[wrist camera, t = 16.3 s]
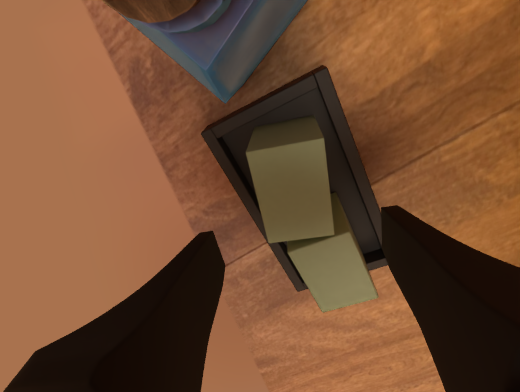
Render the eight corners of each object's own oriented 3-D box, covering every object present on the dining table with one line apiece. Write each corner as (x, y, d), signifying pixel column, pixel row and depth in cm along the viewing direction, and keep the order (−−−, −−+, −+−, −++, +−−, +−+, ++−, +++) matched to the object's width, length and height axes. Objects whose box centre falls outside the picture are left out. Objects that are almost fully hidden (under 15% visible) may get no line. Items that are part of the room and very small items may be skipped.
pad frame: (296, 277, 26) (297, 292, 24) (206, 126, 19) (200, 133, 18) (391, 247, 23) (398, 262, 22) (323, 64, 17) (326, 66, 15)
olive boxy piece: (271, 202, 21) (268, 243, 17) (254, 126, 19) (245, 152, 14) (323, 195, 21) (335, 235, 16) (314, 114, 18) (324, 137, 14)
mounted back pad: (315, 264, 24) (322, 313, 20) (286, 210, 22) (287, 252, 17) (361, 249, 23) (379, 298, 18) (335, 191, 20) (349, 231, 16)
